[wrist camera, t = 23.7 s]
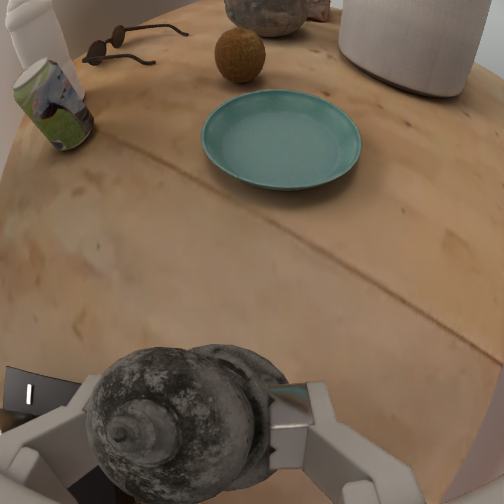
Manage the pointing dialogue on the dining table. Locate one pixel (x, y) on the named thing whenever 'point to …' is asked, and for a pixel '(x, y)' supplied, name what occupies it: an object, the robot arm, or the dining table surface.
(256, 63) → the fruit
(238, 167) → the saucer
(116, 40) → the eyeglasses
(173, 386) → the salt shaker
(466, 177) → the dining table surface
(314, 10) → the food item
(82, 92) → the water bottle
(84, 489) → the dial base
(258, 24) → the bowl
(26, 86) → the beverage can
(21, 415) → the hob knob
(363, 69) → the planter
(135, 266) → the dining table surface
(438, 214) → the dining table surface
